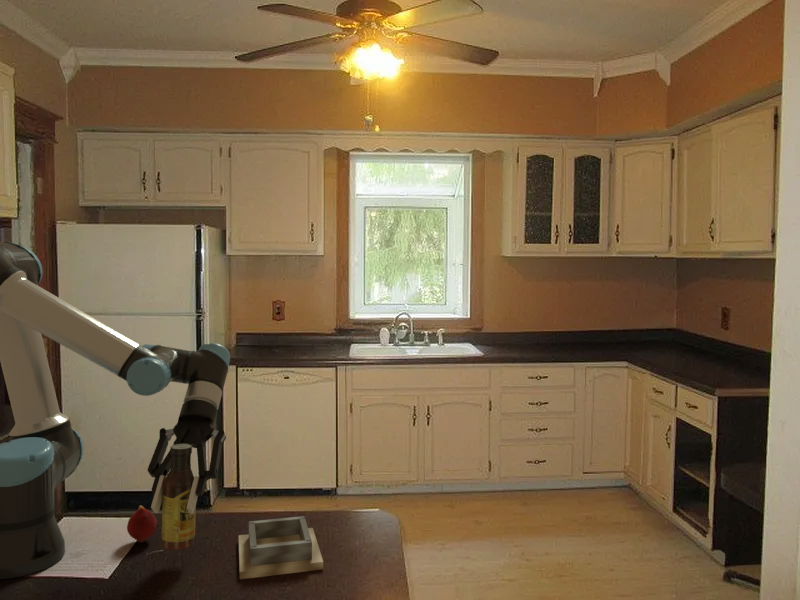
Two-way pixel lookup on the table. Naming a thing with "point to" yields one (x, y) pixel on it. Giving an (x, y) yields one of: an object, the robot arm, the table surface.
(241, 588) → the table surface
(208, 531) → the table surface
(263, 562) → the bottle holder
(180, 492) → the sauce bottle
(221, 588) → the table surface
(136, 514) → the onion
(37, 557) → the robot arm
